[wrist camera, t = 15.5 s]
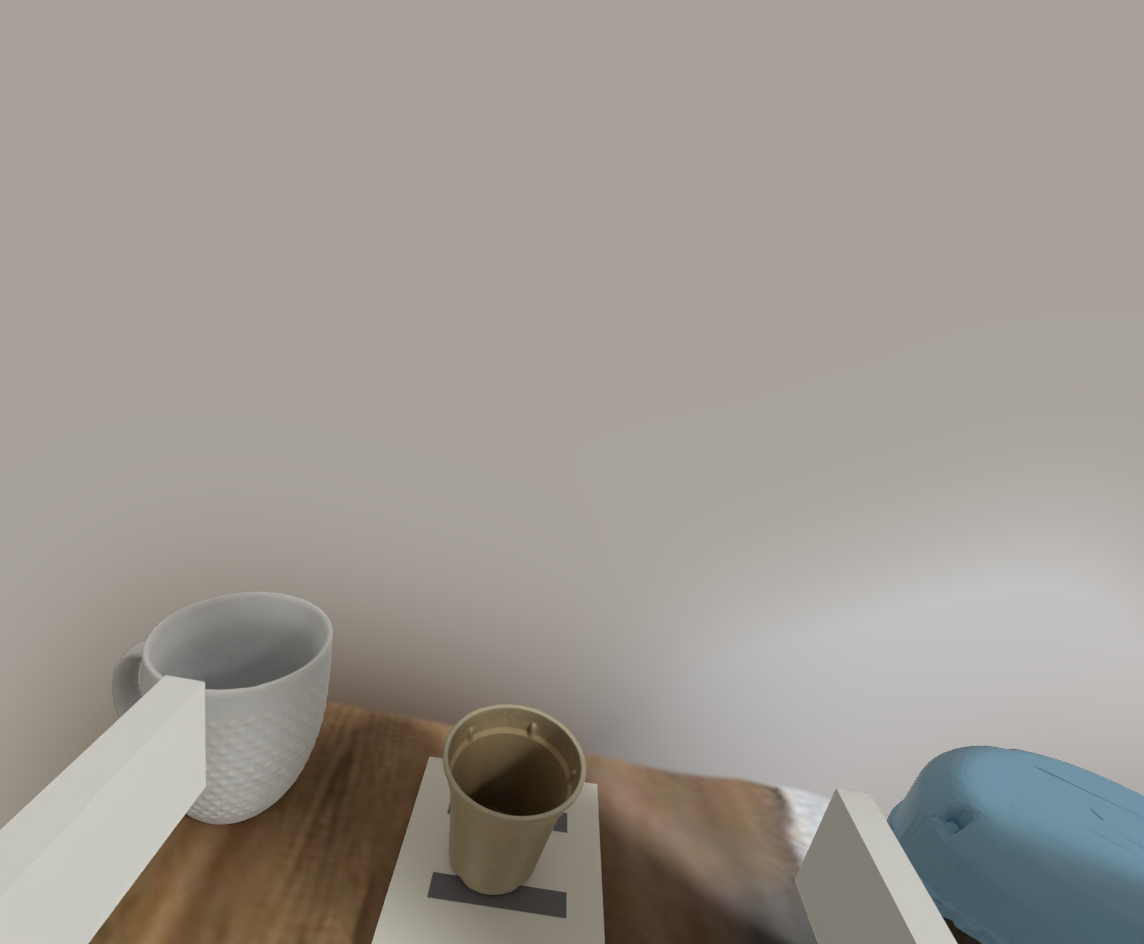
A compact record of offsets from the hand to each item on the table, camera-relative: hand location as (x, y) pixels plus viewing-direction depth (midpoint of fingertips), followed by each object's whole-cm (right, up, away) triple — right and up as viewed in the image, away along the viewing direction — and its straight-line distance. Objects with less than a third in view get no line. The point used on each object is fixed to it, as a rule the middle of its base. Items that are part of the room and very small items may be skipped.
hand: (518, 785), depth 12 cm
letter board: (-4, -21, +28) cm, 35 cm away
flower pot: (-4, -20, +28) cm, 34 cm away
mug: (-25, -16, +30) cm, 42 cm away
